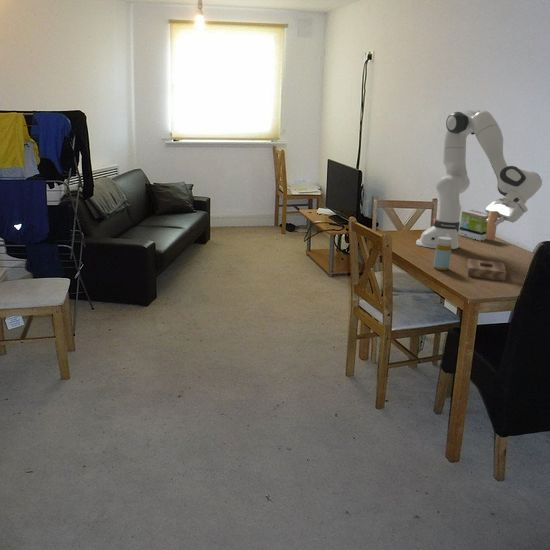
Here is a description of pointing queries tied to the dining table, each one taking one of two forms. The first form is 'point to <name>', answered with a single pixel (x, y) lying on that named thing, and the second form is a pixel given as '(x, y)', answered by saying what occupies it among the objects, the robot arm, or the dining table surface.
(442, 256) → the bottle
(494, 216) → the peg
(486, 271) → the socket block
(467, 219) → the tea box
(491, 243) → the dining table surface
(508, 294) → the dining table surface
